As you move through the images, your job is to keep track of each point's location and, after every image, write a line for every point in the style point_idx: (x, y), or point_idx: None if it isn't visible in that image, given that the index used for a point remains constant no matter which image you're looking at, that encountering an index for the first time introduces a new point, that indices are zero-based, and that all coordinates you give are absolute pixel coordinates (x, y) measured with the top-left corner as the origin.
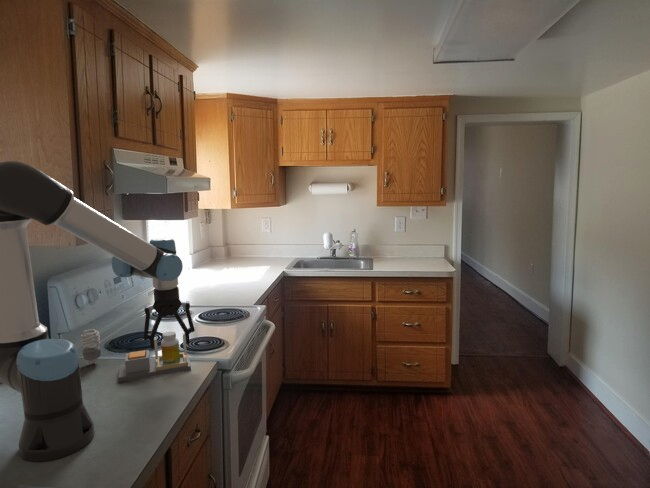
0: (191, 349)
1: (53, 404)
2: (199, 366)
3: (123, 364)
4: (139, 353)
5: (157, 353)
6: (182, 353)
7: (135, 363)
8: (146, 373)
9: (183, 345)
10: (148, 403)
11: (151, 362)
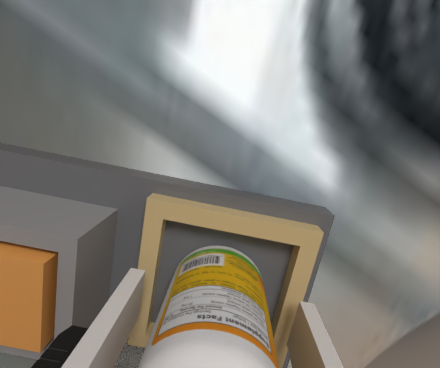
0: (391, 85)
1: None
2: (328, 334)
3: None
4: (4, 302)
5: (123, 344)
6: (298, 245)
7: None
8: None
9: (312, 346)
10: None
11: (124, 224)
